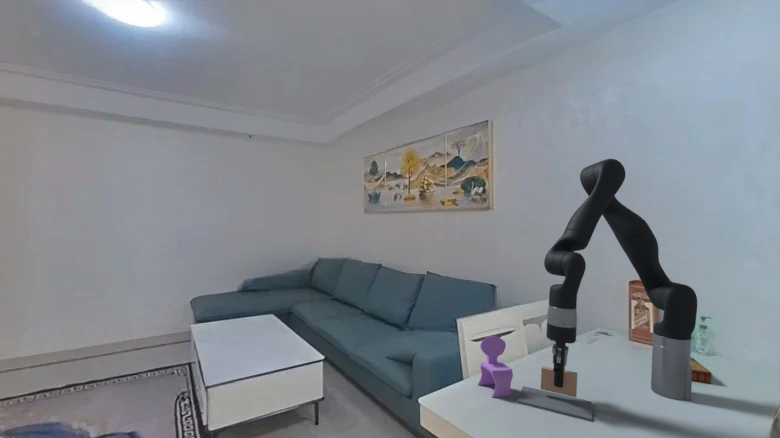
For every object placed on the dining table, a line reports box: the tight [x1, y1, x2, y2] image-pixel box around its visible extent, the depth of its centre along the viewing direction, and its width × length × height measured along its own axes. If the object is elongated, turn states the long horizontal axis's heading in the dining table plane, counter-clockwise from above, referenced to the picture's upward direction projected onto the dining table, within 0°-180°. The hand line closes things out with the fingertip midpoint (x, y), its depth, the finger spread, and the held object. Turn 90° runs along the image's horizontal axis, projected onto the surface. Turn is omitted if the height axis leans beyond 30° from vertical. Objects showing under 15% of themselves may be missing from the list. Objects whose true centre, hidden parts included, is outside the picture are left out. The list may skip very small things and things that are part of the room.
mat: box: [516, 385, 593, 422], centre depth 104 cm, size 18×11×1 cm, turn 63°
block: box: [540, 365, 578, 398], centre depth 105 cm, size 9×2×6 cm, turn 62°
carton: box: [690, 356, 712, 385], centre depth 131 cm, size 8×16×4 cm, turn 159°
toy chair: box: [477, 335, 514, 398], centre depth 110 cm, size 8×9×15 cm
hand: (558, 384), depth 105 cm, fingers closed on block, 1 cm apart
